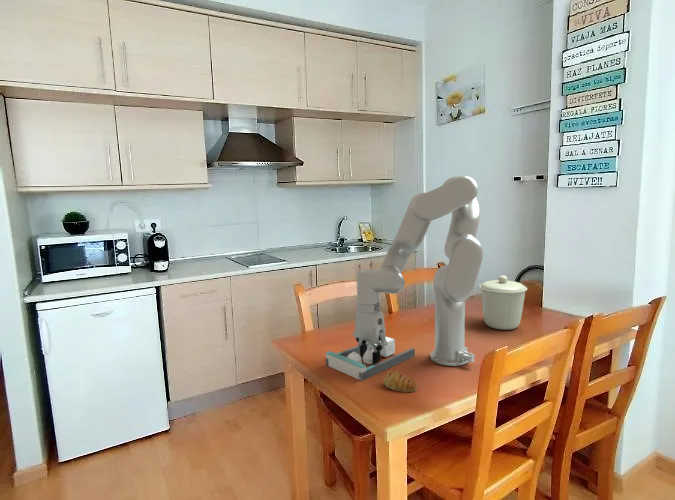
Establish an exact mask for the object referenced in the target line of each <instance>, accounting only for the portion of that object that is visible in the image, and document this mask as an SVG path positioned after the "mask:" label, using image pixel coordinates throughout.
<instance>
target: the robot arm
mask: <svg viewBox="0 0 675 500" xmlns="http://www.w3.org/2000/svg"><path fill="white" fill-rule="evenodd" d="M478 192H479V187H478V184H477V182H476V181H475V179H474V178H472V177H470V176H467V175H460V176H452V177H449V178H448V179H446V180H445V181H444V182H443V184H442V185H441V186H438V187H437V188H434V189H432V190H430V191H427V192H419V193H416V194H415V195H414V196H413V197H412V198H411V200H410V201H409V203H408V206H407V208H406V211H405V213H404V215H403V219H402V221H401V223H400V225H399V227H398V229H397V232H396V235H395V236H394V238H393V241H392V243H391V244H390V246H389V247H388V250H387V252H386V254H385V256H384V259H383V261H382V263H381V265H380V268H379V270H376V269H361V270H359V271H357V272H356V297H357V298H356V302H357V303H356V305H357V307H356V308H357V310H356V311H355V312H356V313H355V319H354V320H355V323H354V324H355V325H354V327H355V328H354V331H353V333H352V335H353V337H354V338H355V341H356V342H357V343H358V345H357V346H359V347H360V354H359V355H360V356H361V358H362V359H363V355H364V354H365V352H366V351H367V345H366V342H370V343H372V346H373V350H374V352H372V360H373V363H374V364H373V365H375V364H377V363H380V362H381V355H380V350H382V348H383V347H385V346H386V345H387V344H388V343H387V341H386V339H385V336H386V327H385V323H386V322H385V319H384V314H383V312H382V309H383V308H382V306H381V293H382V294H389V295H395V294H398V293H400V292H401V291H402V290H404V288H405V285H406V281H405V278H404V275H402V273H403V270H404V268H405V266H406V264H407V262H408V260H409V258H410V257H411V255H412V254H413V253H414V252H416V251H417V250H418V249H419V248H420V247H421V245H422V244H423V241H424V238H425V236H426V234H427V232H428V230H429V227H430V224H431V222H432V221H434V220H437V219H439V218H440V219H441V218H442V217H444V216H446V215H448V214H449V215H450V214H451V220H450V225H449V229H448V232H447V236H446V241H445V243H444V249H443V251H444V254H445V257H446V258H447V259H448V261H449V262H448V264H445V265H442V266H440V267H439V268H438V269H437V270H436V272H435V273H434V276H433V291H434V350H432V351H430V354H429V355H430V359H431V361H432V362H434V363H436V364H439V365H442V366H449V367H458V366H459V367H460V366H464V365H467V364H468V363H469V362H470V363H474V362H475V356H476V355H475V353H473V352H469V351H468V346H465V344H466V343H465V337H466V336H465V335H466V333H465V332H466V331H465V330H466V327H465V326H466V325H465V324H466V319H465V318H466V300H467V299H469V298H470V297H471V296H472V295H473V293H474V290H475V287H476V286H477V285H476V284H477V281H478V277H479V274H480V270H481V268H482V267H481V266H482V262H483V259H484V250H483V249H484V248H483V246H482V243H481V242H480V241H479V240H478V239H477V233H478V229H479V223H480V218H481V215H480V214H481V212H480V210H481V209H480V205H479V202H478V200H477V196H478ZM380 341H381V343H380ZM376 344H377V347H376Z"/></svg>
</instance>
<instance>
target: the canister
mask: <svg viewBox="0 0 675 500" xmlns="http://www.w3.org/2000/svg"><path fill="white" fill-rule="evenodd" d="M478 287H479V288H478V289H480V295H481V307H482V315H483V320H484V323H485V324H486V325H487V326H488V327H490V328H493V329H496V330H507V331H508V330H514V329H516V328H518V327H519V326H520V324H521V319H522V315H523V310H524V309H523V308H524V302H525V297H526V292H527V290H528V287H527V286H525V285H524V284H523V283H520V282H518V281H513V280H509V278H508V276H506V275H499V276H498V277H497V279H494V280H486V281H483V283H481V284H479V285H478Z"/></svg>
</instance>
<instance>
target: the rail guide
mask: <svg viewBox="0 0 675 500" xmlns="http://www.w3.org/2000/svg"><path fill="white" fill-rule="evenodd" d="M366 345H367V346H368V345H372V343H370V342H366ZM415 351H416V349H415V348H414V347H413V348H409V349H407V350H405V351H402V352H400V353H398V354H395V355H393V356H390V357H389V358H387V359H384V360H382V361H380V362H377V363H375V364H371V365H369V366H367V365H366V364H365V363H364V364H363V363H362V364H361V363H359V362H357V361H354V360H352V359H349V358H347V357H348V355H349V354H351V353H352V352H356V353H358V354H359V355H360V347H359V346H358V345H356V346H353V347H351V348H348V349H345V350H343V351H341V352H340V351H339V352H334V351H332V350H329V351H327V352H325V365H326V366H328V367H329V368H332V369H334V370H337V371H338V372H340V373H343V374H346V375H348V376H350V377H352V378H355V379H357V380H359V381H364V380H367V379H369V378H371V377H373V376H375V375H377V374H379V373H382V372H383V371H386V370H388V369H390V368H392V367H394V366H396V365H399V364H401V363H403V362H405V361H407V360H409V359H411V358H413V357H415V356H416V352H415Z"/></svg>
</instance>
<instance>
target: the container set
mask: <svg viewBox="0 0 675 500" xmlns="http://www.w3.org/2000/svg"><path fill="white" fill-rule="evenodd" d="M385 339H386V341H387V343H388V344H387V345H386V346H385V347H383V348H382V350H380V357H384V358H387V357H391V356H392V355H394V354H395V352H396V345H395V344H396V340H395V338H391V337H390V336H389V337H388V336H387V335H385ZM380 343H381V341H380ZM376 347H377V344H376ZM372 352H374V350H373V346H372V345H368V346H367V351H366V352H365V354H364V355H363V358H361V356H360V354H358V353H356V352H352V353H351V354H349V355H348V357H347V358H349V359H352V360H354V361H357V362H359V363H361V364H363V363H364V364H365V365H366V364H367V365H375V364H374V363H373V360H372Z"/></svg>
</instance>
